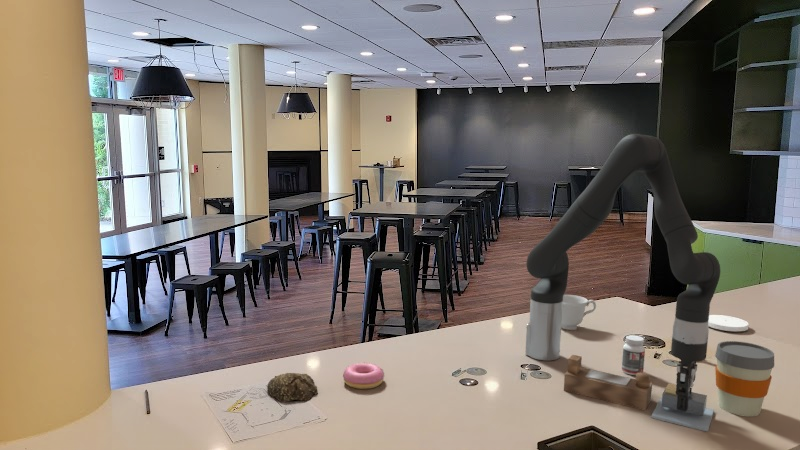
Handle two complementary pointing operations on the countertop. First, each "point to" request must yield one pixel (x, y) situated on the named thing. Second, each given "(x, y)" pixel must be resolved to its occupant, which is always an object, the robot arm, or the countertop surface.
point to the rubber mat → (683, 417)
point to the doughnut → (363, 375)
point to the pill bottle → (633, 355)
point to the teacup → (574, 311)
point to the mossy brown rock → (292, 387)
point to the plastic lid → (727, 323)
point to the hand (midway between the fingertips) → (683, 405)
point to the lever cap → (694, 400)
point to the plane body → (608, 385)
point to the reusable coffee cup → (743, 376)
